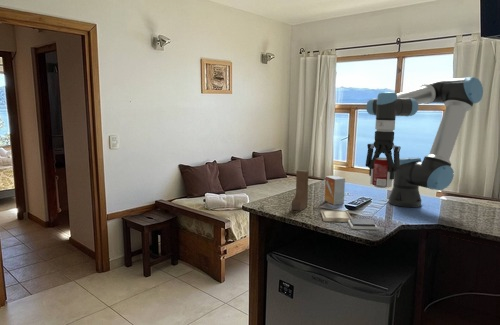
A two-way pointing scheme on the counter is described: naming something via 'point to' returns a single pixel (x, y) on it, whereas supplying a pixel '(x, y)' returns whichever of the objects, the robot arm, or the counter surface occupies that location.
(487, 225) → the counter surface
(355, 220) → the pad
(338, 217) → the board
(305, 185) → the wooden block
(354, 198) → the counter surface
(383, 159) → the soda can
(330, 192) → the small box
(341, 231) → the counter surface
